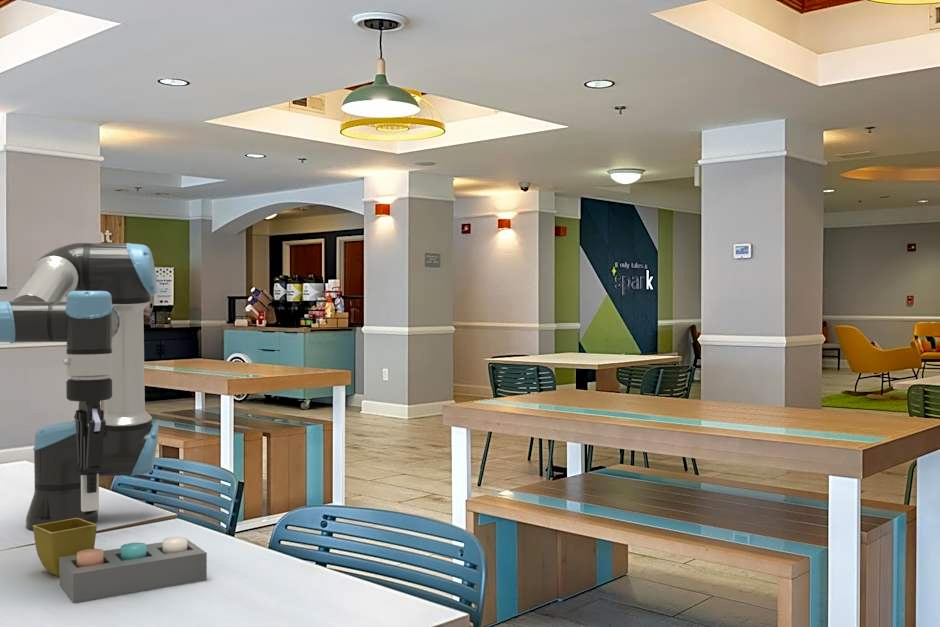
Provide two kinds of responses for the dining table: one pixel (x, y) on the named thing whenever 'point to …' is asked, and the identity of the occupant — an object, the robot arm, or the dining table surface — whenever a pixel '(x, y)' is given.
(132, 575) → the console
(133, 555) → the teal button
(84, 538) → the flower pot
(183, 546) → the cream button
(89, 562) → the terracotta button
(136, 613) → the dining table surface
